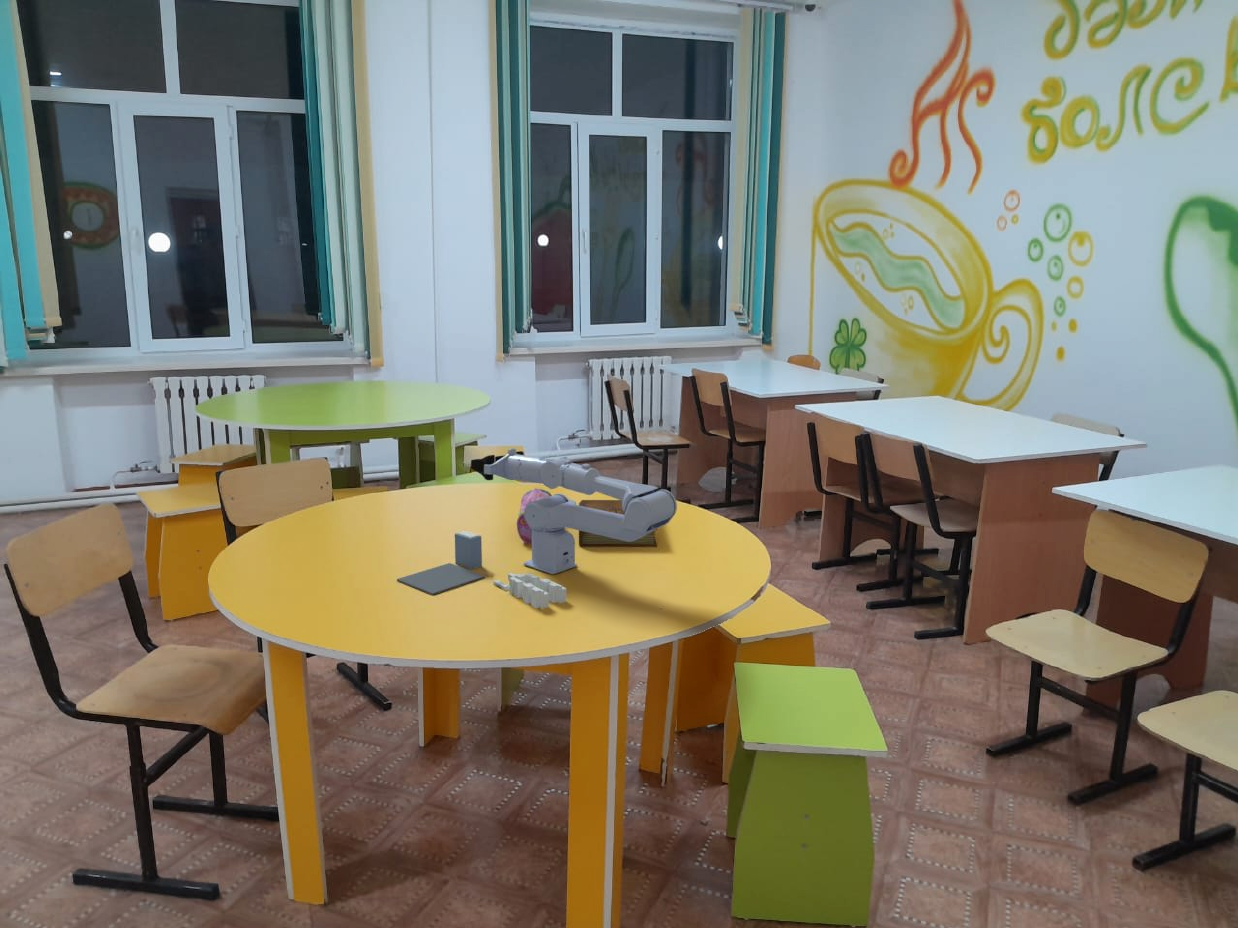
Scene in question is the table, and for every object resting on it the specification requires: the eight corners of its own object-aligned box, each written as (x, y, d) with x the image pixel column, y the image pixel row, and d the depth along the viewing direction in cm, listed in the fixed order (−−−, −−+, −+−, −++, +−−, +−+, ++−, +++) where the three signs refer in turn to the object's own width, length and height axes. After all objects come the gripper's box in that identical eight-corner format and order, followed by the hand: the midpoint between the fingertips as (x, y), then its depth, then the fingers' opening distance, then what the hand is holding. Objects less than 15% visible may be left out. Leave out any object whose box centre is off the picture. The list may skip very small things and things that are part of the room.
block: (481, 565, 201) (481, 535, 199) (471, 569, 199) (470, 538, 197) (465, 560, 204) (465, 529, 203) (455, 563, 202) (454, 532, 200)
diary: (578, 520, 238) (578, 499, 236) (649, 521, 238) (649, 500, 237) (578, 548, 215) (579, 525, 214) (656, 548, 216) (657, 525, 215)
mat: (485, 577, 194) (485, 575, 193) (432, 595, 183) (432, 593, 183) (449, 564, 201) (449, 562, 201) (396, 580, 191) (396, 578, 191)
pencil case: (552, 545, 216) (552, 509, 214) (514, 545, 216) (514, 508, 214) (556, 519, 237) (556, 486, 235) (521, 519, 237) (521, 486, 235)
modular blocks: (566, 603, 181) (566, 584, 180) (539, 611, 177) (539, 592, 176) (507, 577, 195) (507, 559, 194) (481, 584, 191) (481, 566, 190)
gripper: (549, 447, 206) (506, 442, 214) (504, 453, 195) (460, 448, 203) (549, 478, 207) (506, 472, 215) (504, 486, 196) (461, 479, 204)
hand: (484, 462), depth 209 cm, fingers open, 7 cm apart
